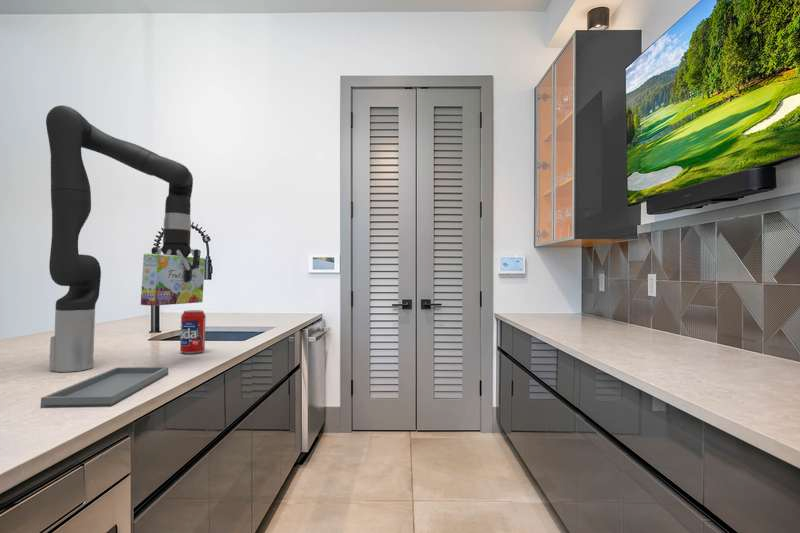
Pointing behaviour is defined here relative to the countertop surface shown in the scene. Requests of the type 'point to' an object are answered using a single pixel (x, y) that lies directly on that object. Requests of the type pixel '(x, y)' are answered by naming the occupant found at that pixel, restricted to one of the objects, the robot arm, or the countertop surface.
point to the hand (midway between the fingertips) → (175, 281)
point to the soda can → (192, 332)
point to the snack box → (170, 281)
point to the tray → (105, 387)
